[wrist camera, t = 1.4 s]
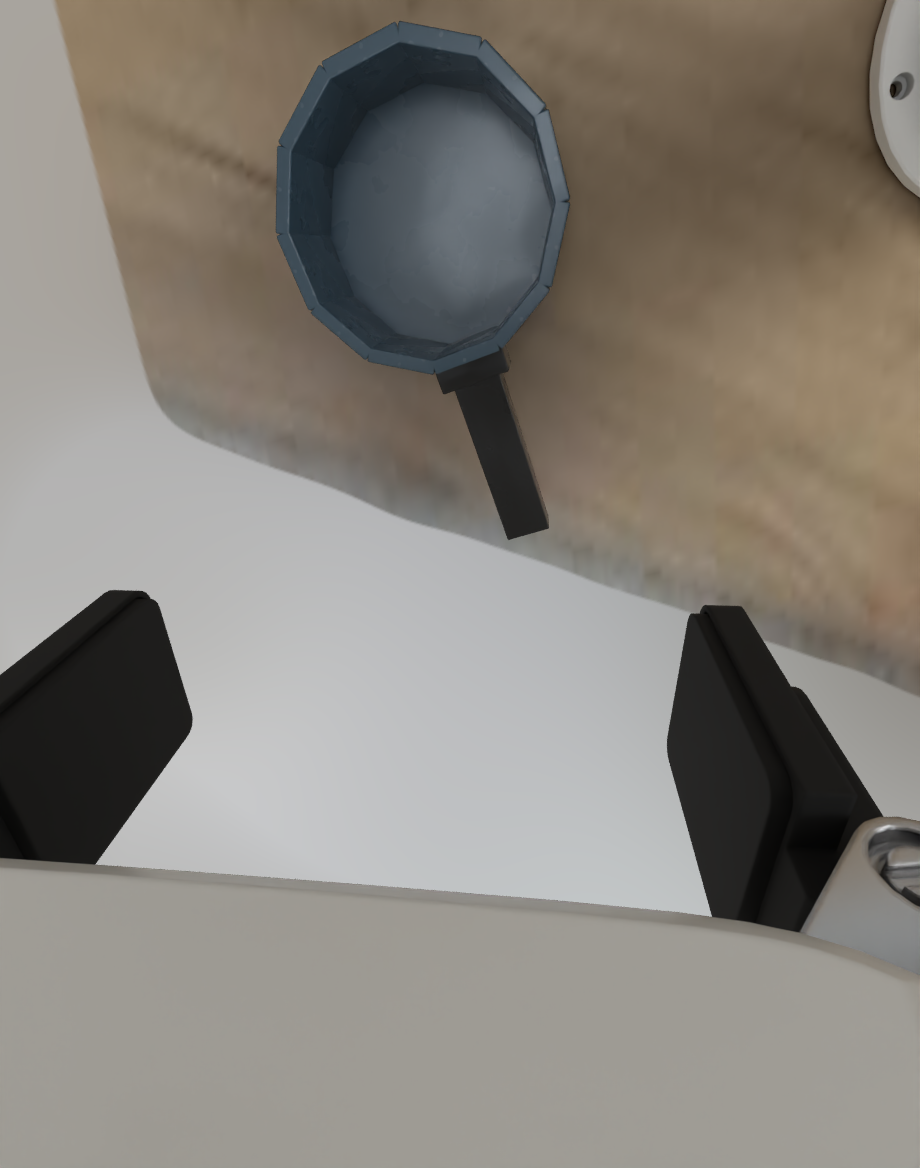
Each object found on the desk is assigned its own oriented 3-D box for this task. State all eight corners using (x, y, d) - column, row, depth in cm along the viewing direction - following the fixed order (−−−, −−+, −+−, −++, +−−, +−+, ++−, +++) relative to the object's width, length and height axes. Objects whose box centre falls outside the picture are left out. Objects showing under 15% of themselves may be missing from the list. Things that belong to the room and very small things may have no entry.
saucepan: (516, 20, 26) (511, -44, 20) (628, 468, 34) (645, 508, 29) (282, 141, 29) (222, 114, 23) (438, 525, 37) (422, 571, 32)
